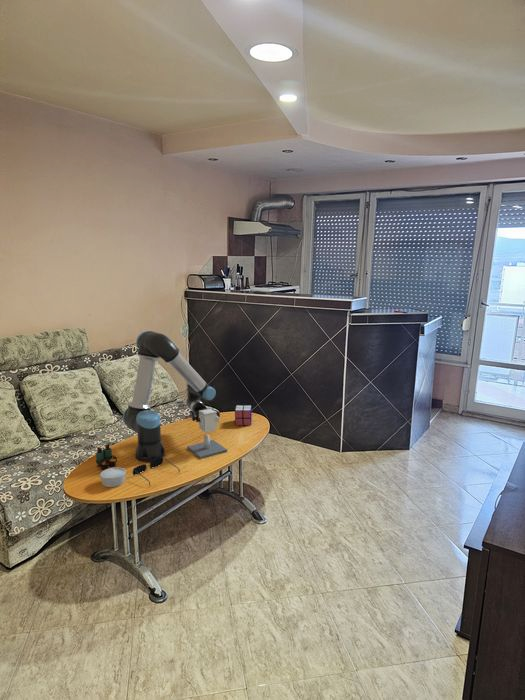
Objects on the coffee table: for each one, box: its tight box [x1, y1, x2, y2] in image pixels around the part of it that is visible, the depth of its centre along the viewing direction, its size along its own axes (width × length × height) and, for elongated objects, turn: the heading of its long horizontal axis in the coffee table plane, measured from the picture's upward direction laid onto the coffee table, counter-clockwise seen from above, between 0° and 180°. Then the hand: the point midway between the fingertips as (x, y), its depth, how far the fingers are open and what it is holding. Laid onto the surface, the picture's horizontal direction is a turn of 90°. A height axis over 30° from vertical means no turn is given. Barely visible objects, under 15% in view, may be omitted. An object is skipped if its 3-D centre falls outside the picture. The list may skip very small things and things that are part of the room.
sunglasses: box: [132, 457, 181, 486], centre depth 208 cm, size 17×15×5 cm
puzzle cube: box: [234, 405, 253, 426], centre depth 275 cm, size 10×10×10 cm
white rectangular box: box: [198, 408, 218, 433], centre depth 233 cm, size 7×7×10 cm
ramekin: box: [99, 466, 127, 488], centre depth 200 cm, size 11×11×5 cm
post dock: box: [186, 434, 228, 460], centre depth 235 cm, size 16×16×8 cm
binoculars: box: [95, 443, 118, 471], centre depth 215 cm, size 9×11×10 cm
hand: (210, 421), depth 229 cm, fingers closed on white rectangular box, 8 cm apart
